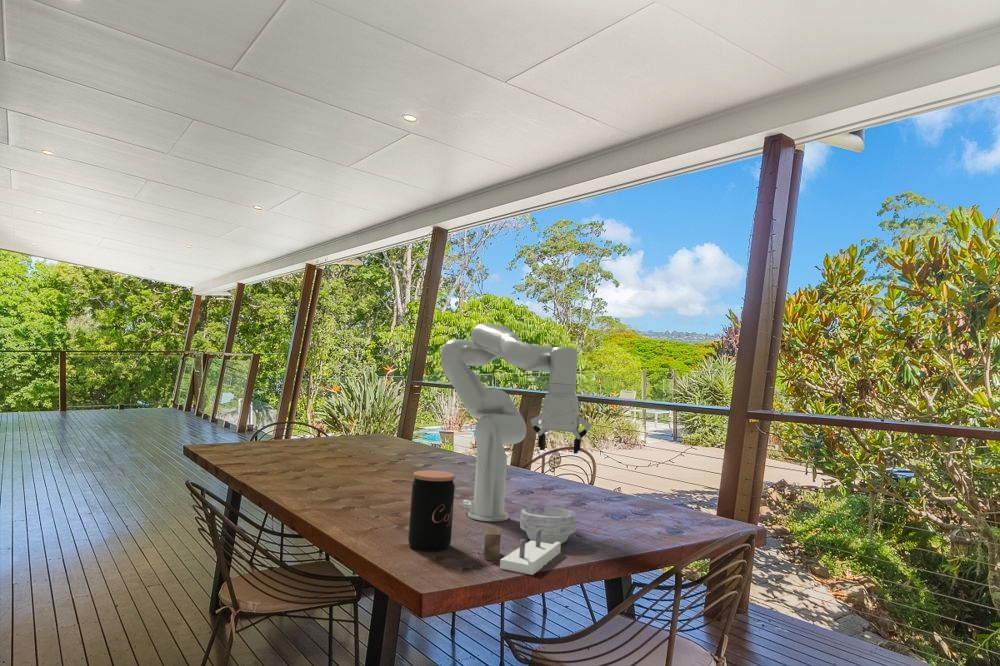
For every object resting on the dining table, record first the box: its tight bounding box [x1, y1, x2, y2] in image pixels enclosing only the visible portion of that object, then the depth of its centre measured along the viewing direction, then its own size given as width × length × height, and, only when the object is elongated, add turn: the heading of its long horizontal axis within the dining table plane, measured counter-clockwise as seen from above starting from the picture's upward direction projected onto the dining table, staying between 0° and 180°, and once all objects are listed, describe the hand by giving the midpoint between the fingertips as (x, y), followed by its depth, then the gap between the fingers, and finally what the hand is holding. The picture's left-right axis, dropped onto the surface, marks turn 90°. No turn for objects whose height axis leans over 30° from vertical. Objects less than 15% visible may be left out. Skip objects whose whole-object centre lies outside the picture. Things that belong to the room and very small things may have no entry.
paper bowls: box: [519, 505, 577, 545], centre depth 169 cm, size 15×15×8 cm
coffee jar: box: [407, 469, 456, 552], centre depth 157 cm, size 11×11×18 cm
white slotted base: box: [499, 530, 562, 576], centre depth 149 cm, size 8×20×6 cm, turn 156°
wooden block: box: [481, 526, 502, 561], centre depth 152 cm, size 4×7×6 cm, turn 7°
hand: (559, 451), depth 174 cm, fingers open, 9 cm apart
